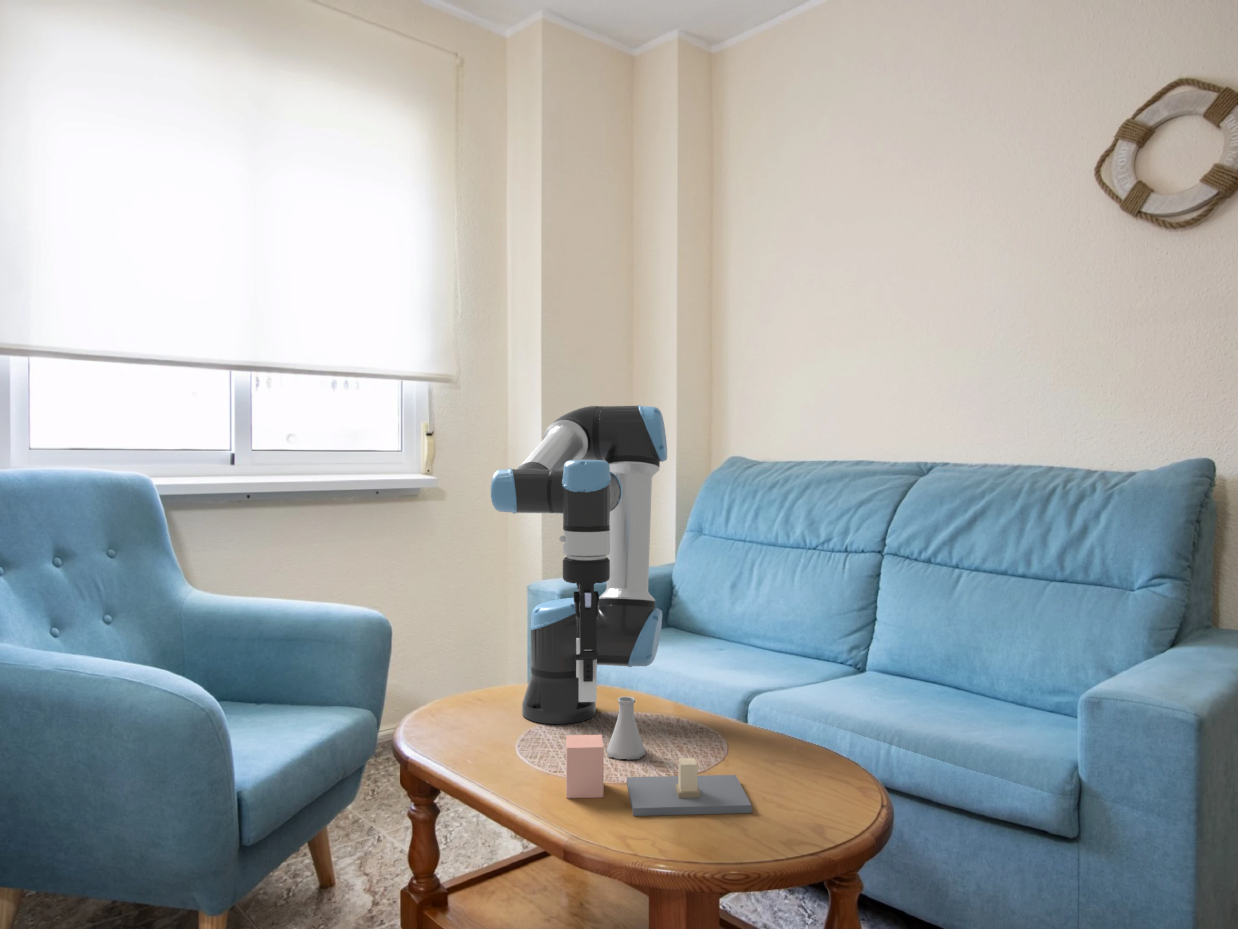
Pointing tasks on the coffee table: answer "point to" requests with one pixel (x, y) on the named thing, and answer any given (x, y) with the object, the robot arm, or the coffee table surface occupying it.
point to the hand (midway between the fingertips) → (585, 688)
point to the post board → (687, 793)
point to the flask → (626, 733)
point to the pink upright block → (584, 766)
